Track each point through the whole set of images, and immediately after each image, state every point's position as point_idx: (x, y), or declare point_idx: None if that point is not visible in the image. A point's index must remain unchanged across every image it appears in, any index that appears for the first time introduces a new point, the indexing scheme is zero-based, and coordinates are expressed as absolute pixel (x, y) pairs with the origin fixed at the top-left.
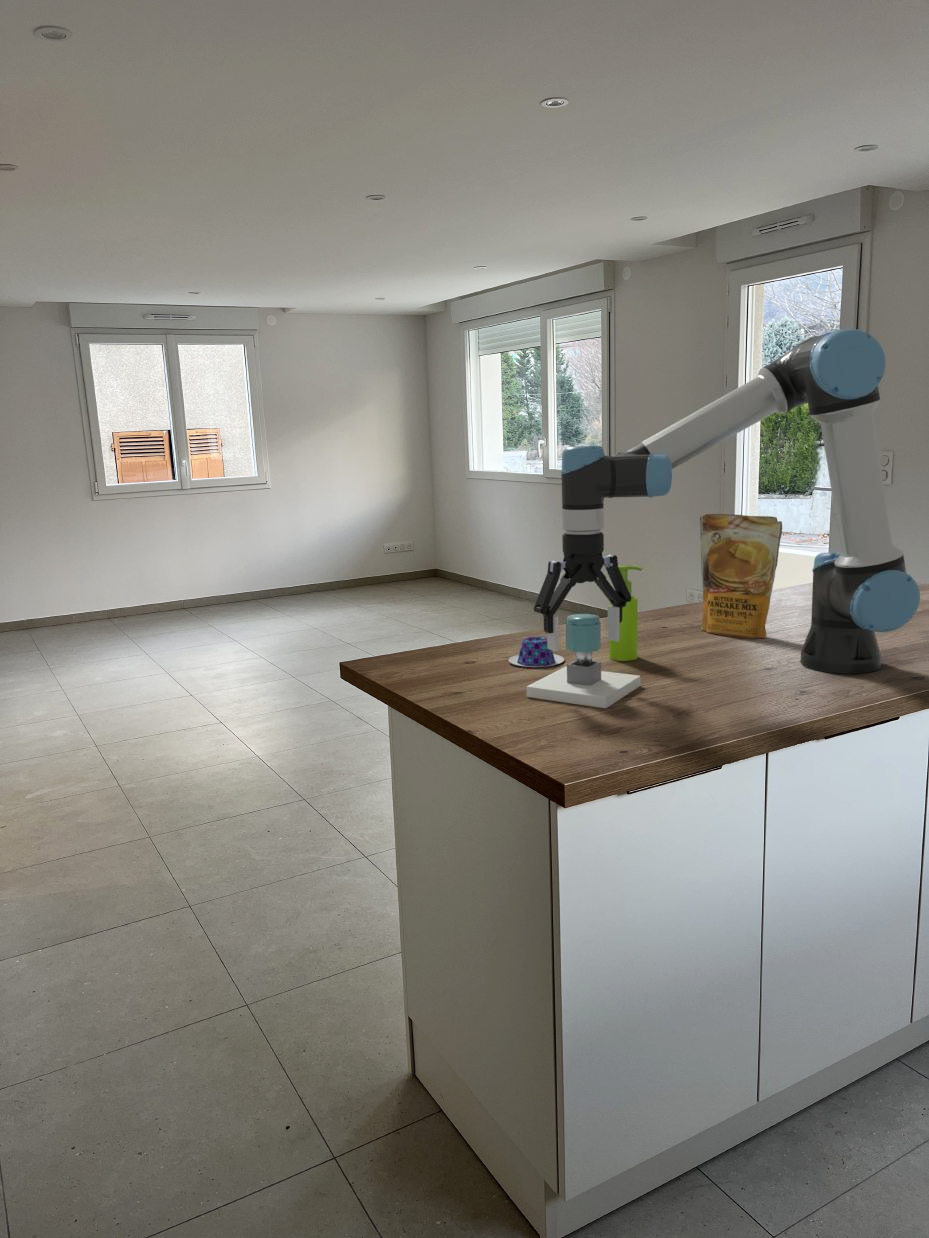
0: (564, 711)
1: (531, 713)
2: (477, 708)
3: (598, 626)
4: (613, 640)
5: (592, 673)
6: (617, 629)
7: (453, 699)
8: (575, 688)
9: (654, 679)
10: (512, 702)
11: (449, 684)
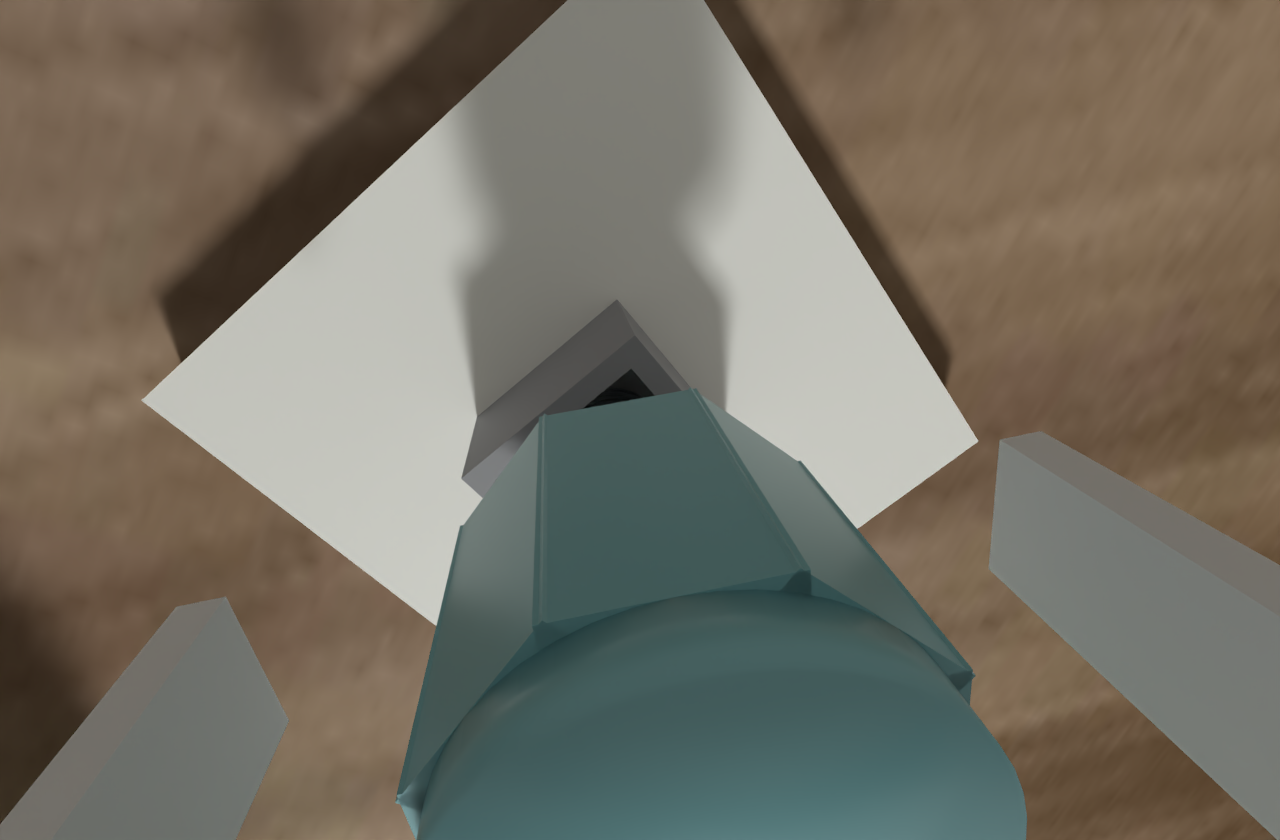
0: (919, 30)
1: (1103, 91)
2: (1254, 321)
3: (517, 617)
4: (246, 639)
5: (594, 346)
6: (115, 721)
7: (1236, 503)
8: (741, 280)
9: (29, 480)
10: (1056, 351)
11: (1105, 709)
